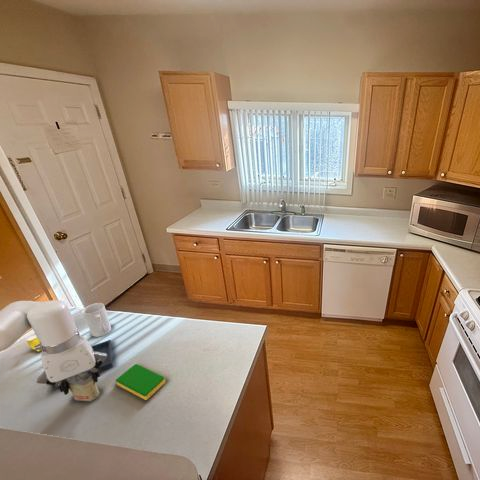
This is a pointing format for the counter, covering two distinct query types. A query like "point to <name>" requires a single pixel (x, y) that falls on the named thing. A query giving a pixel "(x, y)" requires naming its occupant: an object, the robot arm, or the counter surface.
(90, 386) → the lighter
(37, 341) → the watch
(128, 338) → the counter surface
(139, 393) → the dish sponge
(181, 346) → the counter surface
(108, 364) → the tray
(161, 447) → the counter surface
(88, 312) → the mug
